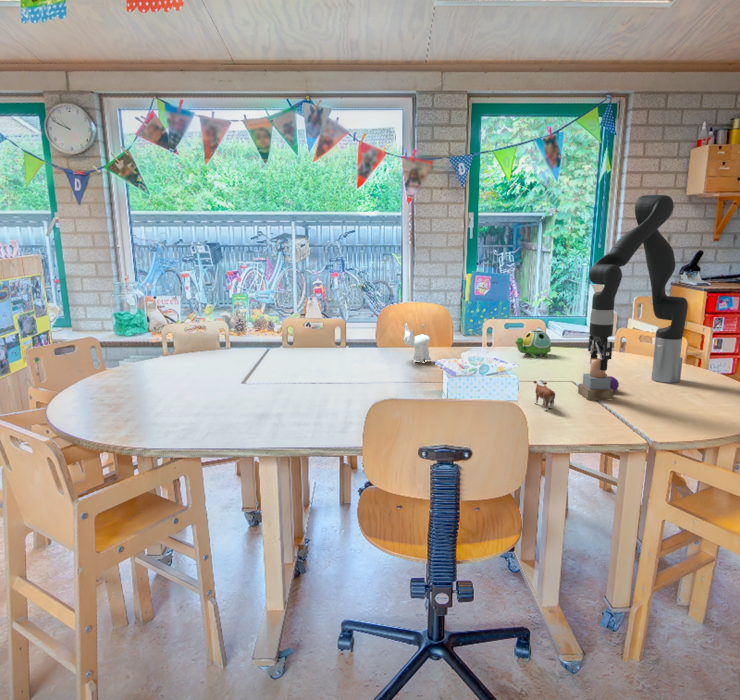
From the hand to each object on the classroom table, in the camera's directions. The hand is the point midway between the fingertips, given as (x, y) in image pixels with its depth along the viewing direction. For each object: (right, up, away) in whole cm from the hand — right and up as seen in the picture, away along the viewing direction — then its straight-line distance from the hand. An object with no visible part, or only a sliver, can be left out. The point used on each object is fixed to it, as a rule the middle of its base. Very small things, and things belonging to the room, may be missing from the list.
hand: (598, 367), depth 193 cm
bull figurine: (-22, -13, -7) cm, 27 cm away
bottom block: (0, -11, +3) cm, 11 cm away
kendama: (+10, -8, +16) cm, 20 cm away
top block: (0, -7, +2) cm, 7 cm away
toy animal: (-59, +1, +61) cm, 85 cm away
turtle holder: (-2, +3, +71) cm, 71 cm away
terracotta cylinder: (0, -3, +1) cm, 3 cm away
